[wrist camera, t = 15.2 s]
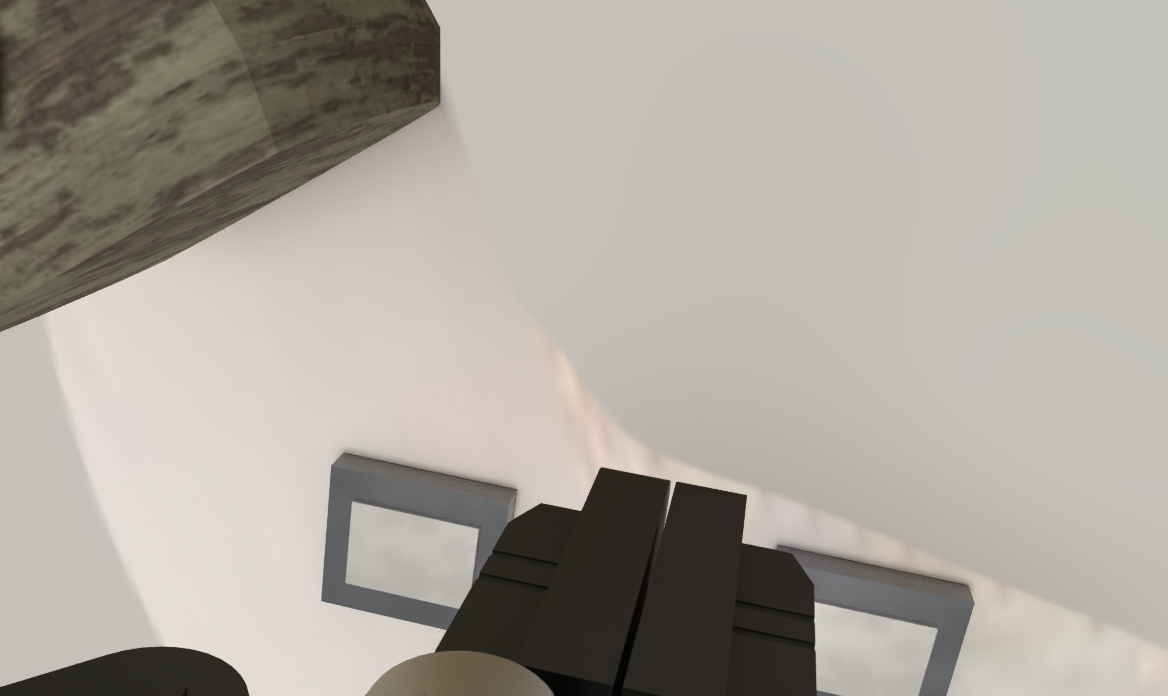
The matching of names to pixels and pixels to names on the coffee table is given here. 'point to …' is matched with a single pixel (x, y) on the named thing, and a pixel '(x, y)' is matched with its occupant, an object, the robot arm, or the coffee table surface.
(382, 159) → the coffee table surface
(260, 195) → the ring-handled stone jug
